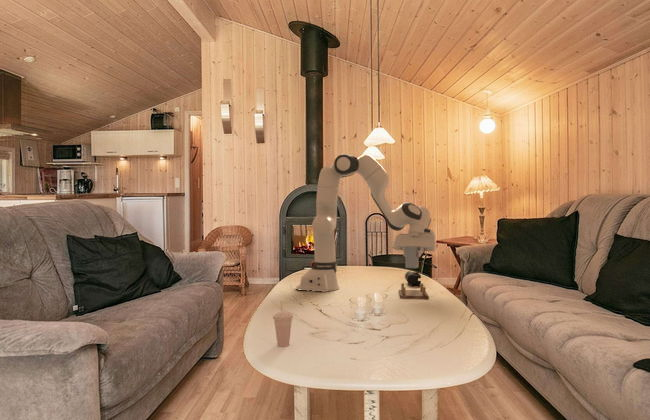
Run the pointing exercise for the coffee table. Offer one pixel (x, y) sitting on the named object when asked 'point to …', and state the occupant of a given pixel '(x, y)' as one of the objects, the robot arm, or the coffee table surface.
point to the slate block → (411, 257)
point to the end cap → (413, 278)
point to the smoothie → (283, 327)
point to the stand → (413, 293)
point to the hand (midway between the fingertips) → (411, 256)
